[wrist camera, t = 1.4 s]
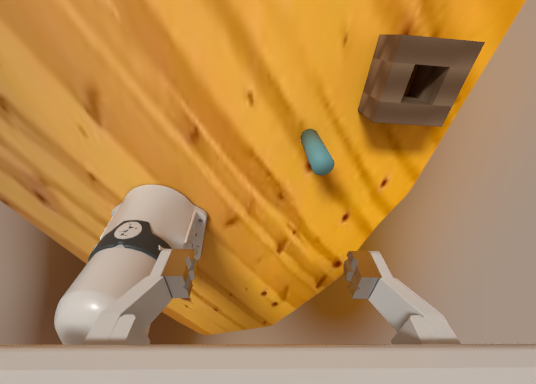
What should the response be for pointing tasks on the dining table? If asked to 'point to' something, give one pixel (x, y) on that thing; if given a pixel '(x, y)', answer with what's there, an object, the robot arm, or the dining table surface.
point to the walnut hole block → (416, 78)
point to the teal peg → (317, 152)
